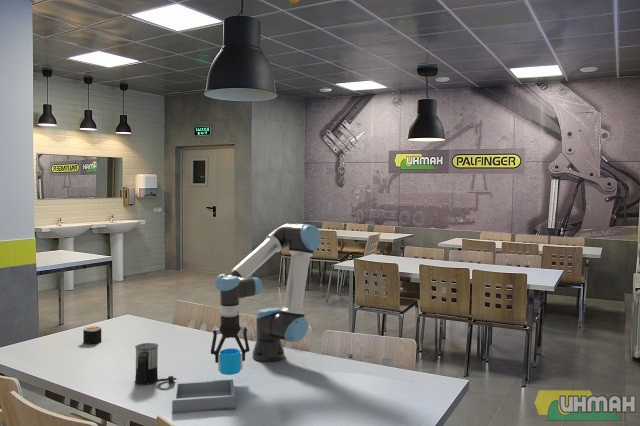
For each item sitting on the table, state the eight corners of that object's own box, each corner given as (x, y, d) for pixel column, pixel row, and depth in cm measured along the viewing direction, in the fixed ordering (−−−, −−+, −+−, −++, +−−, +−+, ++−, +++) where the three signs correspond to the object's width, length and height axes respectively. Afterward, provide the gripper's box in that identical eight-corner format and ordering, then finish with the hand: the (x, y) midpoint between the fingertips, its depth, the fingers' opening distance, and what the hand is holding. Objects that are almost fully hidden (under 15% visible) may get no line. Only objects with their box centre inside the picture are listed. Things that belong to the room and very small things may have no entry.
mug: (231, 376, 206) (231, 356, 206) (215, 372, 210) (215, 352, 210) (250, 366, 217) (250, 347, 216) (234, 363, 221) (234, 344, 220)
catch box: (232, 391, 205) (232, 379, 205) (235, 409, 188) (235, 396, 188) (174, 395, 200) (174, 382, 200) (172, 413, 183) (172, 400, 183)
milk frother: (134, 378, 217) (134, 343, 216) (173, 374, 223) (173, 340, 222) (136, 391, 204) (136, 353, 203) (177, 385, 210) (177, 349, 209)
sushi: (89, 339, 271) (89, 324, 271) (104, 340, 270) (104, 325, 270) (80, 344, 263) (80, 328, 263) (95, 345, 262) (95, 329, 262)
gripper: (203, 318, 206) (204, 374, 207) (256, 315, 210) (256, 370, 212) (203, 313, 213) (204, 368, 214) (254, 311, 218) (255, 364, 219)
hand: (230, 369), depth 213 cm, fingers closed on mug, 8 cm apart
